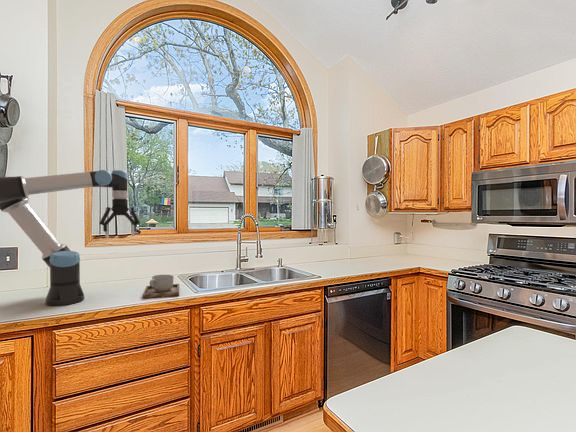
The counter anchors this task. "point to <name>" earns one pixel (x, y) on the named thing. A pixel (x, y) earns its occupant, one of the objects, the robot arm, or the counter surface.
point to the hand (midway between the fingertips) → (120, 237)
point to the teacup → (162, 283)
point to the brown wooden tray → (152, 293)
